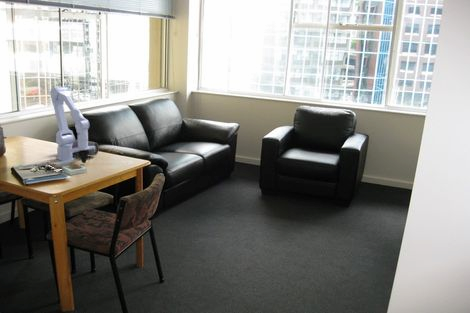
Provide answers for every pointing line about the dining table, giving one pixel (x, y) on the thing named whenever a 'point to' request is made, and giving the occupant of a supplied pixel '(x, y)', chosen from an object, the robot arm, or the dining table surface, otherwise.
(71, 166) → the roller
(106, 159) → the dining table surface
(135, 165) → the dining table surface
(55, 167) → the bar
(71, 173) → the tray
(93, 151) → the bluetooth speaker
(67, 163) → the slab
